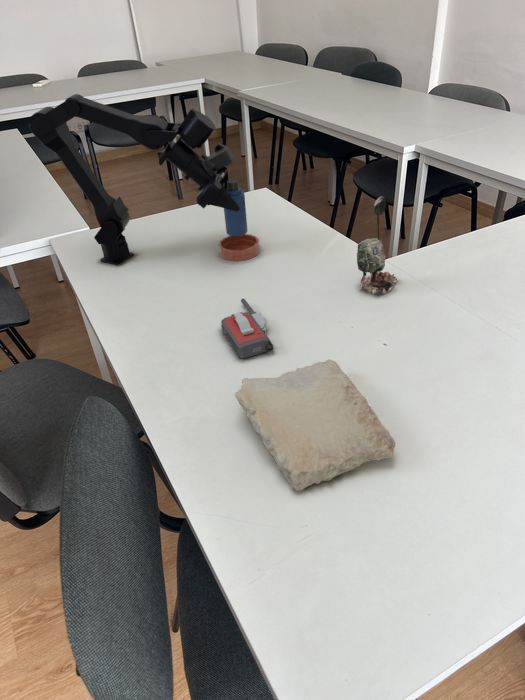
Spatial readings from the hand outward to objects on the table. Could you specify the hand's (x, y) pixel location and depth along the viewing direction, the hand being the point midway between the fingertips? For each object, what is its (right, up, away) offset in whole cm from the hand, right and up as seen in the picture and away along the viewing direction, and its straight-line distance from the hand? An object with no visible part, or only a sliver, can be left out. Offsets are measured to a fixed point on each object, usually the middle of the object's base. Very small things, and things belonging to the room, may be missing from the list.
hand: (239, 205), depth 130 cm
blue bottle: (-1, -5, +4) cm, 7 cm away
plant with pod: (+31, -21, -10) cm, 39 cm away
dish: (0, -10, +8) cm, 13 cm away
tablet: (+13, -48, -44) cm, 67 cm away
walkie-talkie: (+2, -32, -21) cm, 38 cm away
